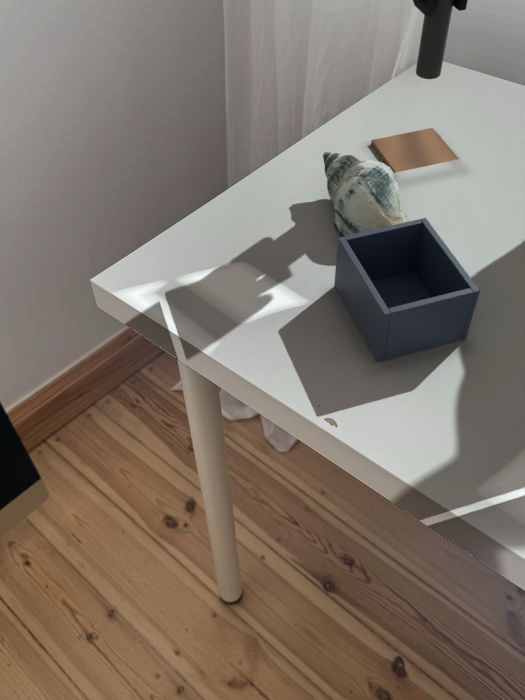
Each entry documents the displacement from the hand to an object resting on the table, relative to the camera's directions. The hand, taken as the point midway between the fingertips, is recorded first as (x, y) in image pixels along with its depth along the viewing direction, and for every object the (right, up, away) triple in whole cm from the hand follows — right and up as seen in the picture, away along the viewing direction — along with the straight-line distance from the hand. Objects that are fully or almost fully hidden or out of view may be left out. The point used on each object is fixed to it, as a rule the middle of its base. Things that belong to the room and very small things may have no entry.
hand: (439, 5), depth 72 cm
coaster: (0, -11, +13) cm, 17 cm away
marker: (0, -5, +5) cm, 7 cm away
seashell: (-7, -20, +5) cm, 22 cm away
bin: (-5, -31, -4) cm, 32 cm away
